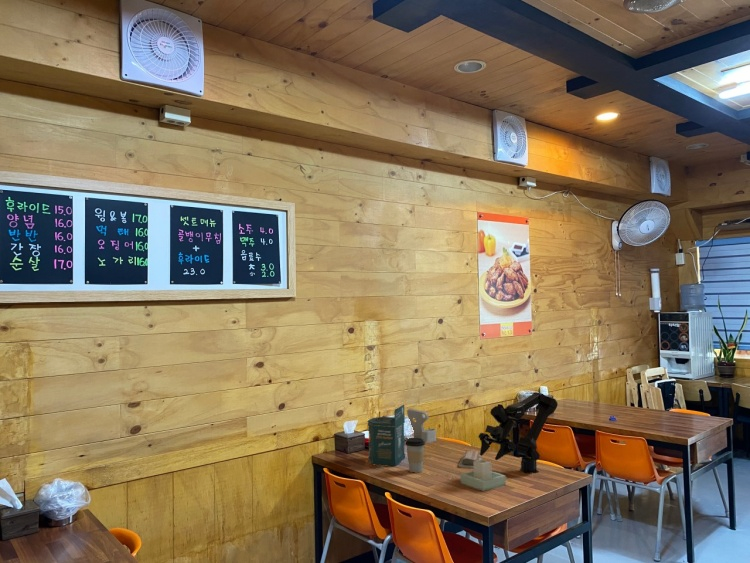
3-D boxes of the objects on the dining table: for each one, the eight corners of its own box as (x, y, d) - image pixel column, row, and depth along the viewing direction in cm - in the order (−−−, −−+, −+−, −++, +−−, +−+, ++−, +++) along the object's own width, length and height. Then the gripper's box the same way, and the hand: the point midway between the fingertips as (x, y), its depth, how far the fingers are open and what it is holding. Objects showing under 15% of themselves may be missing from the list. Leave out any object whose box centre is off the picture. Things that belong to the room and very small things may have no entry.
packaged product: (462, 449, 295) (481, 450, 293) (462, 458, 295) (481, 459, 292) (458, 458, 278) (478, 459, 275) (458, 468, 278) (478, 469, 275)
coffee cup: (428, 469, 275) (427, 438, 276) (421, 475, 266) (420, 442, 267) (409, 467, 279) (409, 436, 279) (402, 472, 270) (402, 441, 271)
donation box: (395, 466, 281) (394, 409, 282) (365, 463, 286) (364, 408, 287) (405, 458, 296) (404, 404, 297) (376, 455, 301) (375, 402, 302)
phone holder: (438, 440, 332) (437, 409, 333) (425, 443, 326) (425, 412, 326) (417, 435, 346) (416, 406, 346) (405, 438, 339) (404, 408, 340)
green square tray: (482, 477, 262) (482, 468, 262) (505, 484, 251) (505, 475, 251) (460, 482, 254) (460, 473, 254) (483, 491, 242) (483, 481, 243)
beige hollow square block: (482, 479, 256) (482, 459, 256) (491, 482, 252) (491, 461, 252) (473, 481, 253) (473, 461, 253) (483, 484, 248) (482, 464, 249)
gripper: (480, 415, 266) (463, 442, 259) (510, 421, 251) (494, 451, 244) (492, 429, 270) (476, 457, 264) (523, 436, 255) (507, 466, 248)
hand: (488, 457), depth 255 cm, fingers open, 9 cm apart
